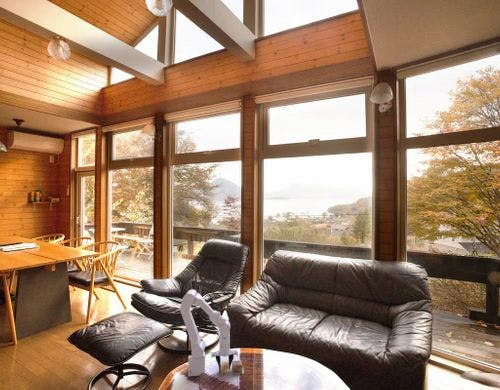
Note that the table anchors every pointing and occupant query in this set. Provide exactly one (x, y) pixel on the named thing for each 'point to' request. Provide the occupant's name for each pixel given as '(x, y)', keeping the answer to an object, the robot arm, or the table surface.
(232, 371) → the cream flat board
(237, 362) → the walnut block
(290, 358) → the table surface
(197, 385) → the table surface
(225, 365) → the maple cube
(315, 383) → the table surface
